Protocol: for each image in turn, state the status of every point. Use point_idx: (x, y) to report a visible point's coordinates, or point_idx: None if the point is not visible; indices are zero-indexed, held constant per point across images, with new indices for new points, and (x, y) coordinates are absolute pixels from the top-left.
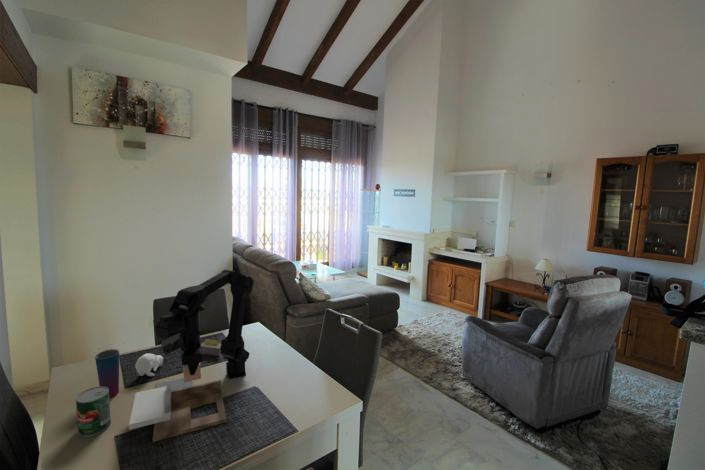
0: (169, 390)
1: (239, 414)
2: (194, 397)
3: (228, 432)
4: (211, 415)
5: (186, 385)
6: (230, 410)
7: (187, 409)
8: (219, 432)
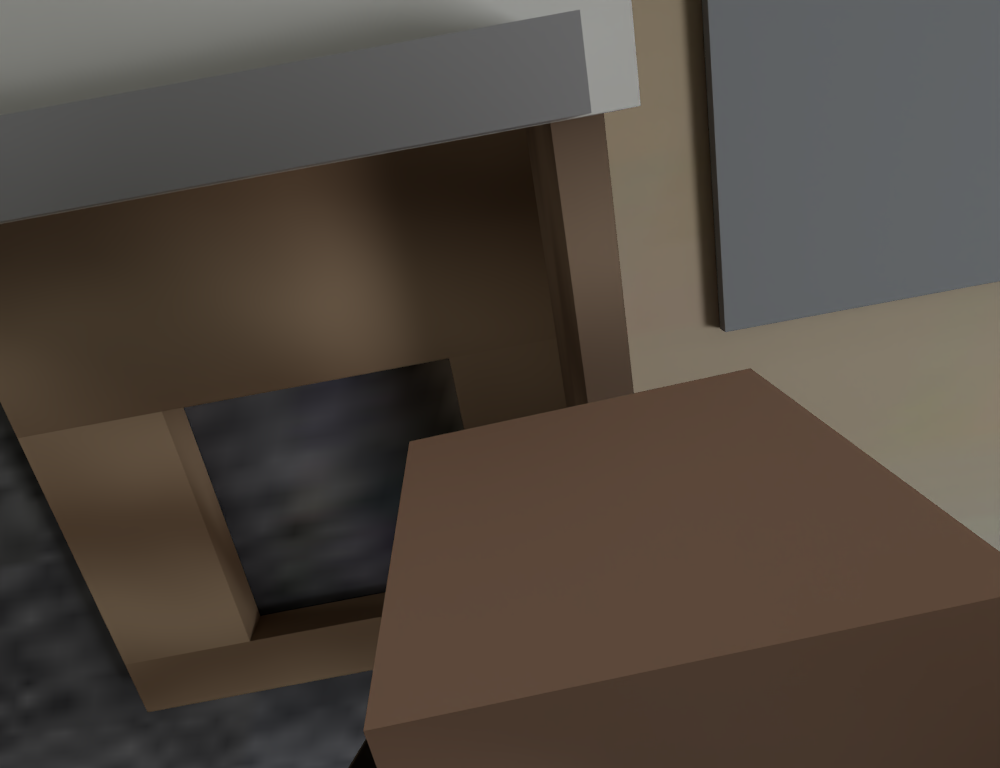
0: (178, 164)
1: (260, 761)
2: (567, 390)
3: (21, 709)
4: (211, 591)
5: (932, 228)
6: (331, 695)
7: (362, 344)
8: (23, 648)
